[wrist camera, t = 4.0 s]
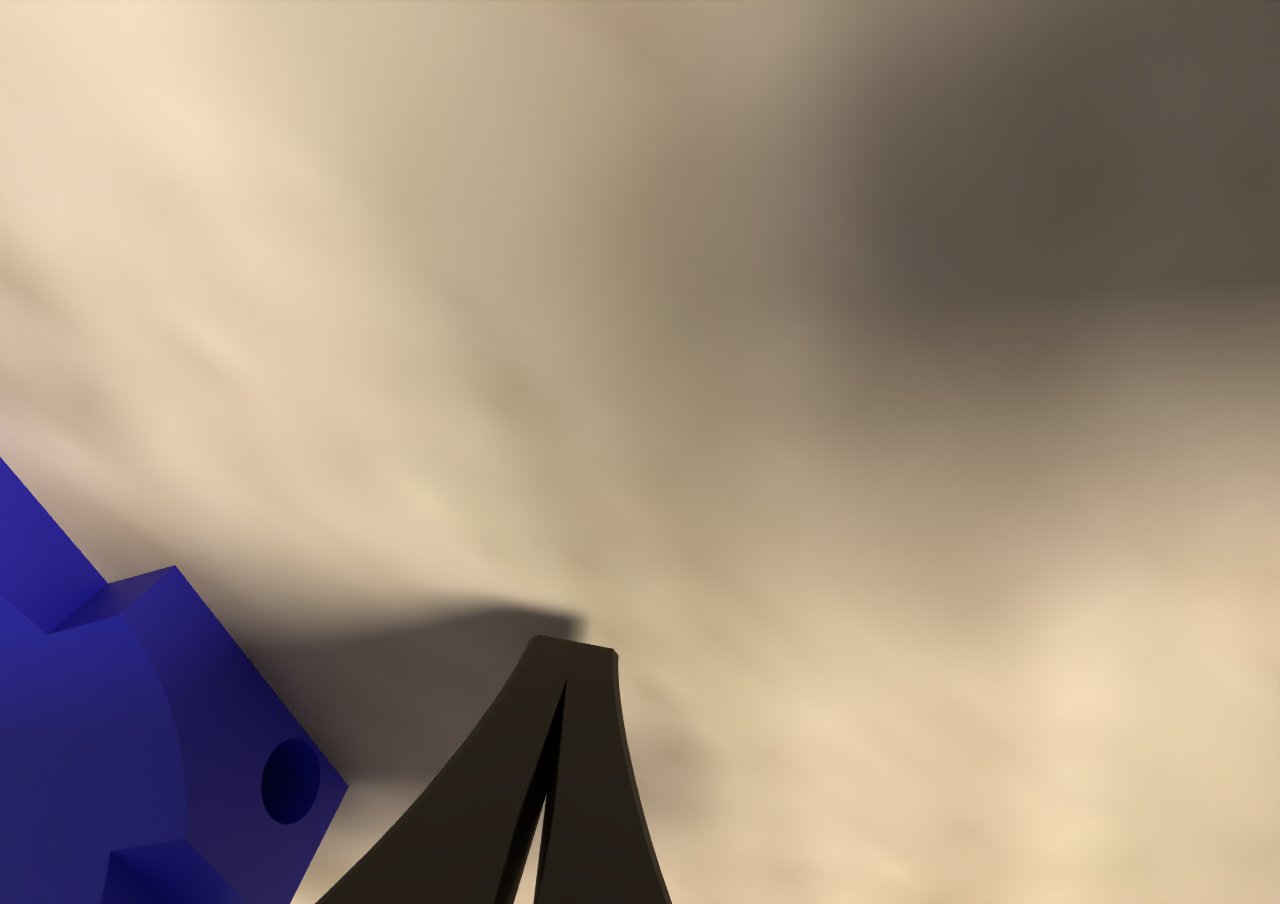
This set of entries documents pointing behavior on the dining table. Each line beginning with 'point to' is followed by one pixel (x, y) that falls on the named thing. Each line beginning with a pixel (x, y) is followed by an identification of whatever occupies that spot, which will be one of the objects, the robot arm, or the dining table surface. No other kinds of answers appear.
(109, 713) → the cable clip
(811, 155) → the dining table surface
